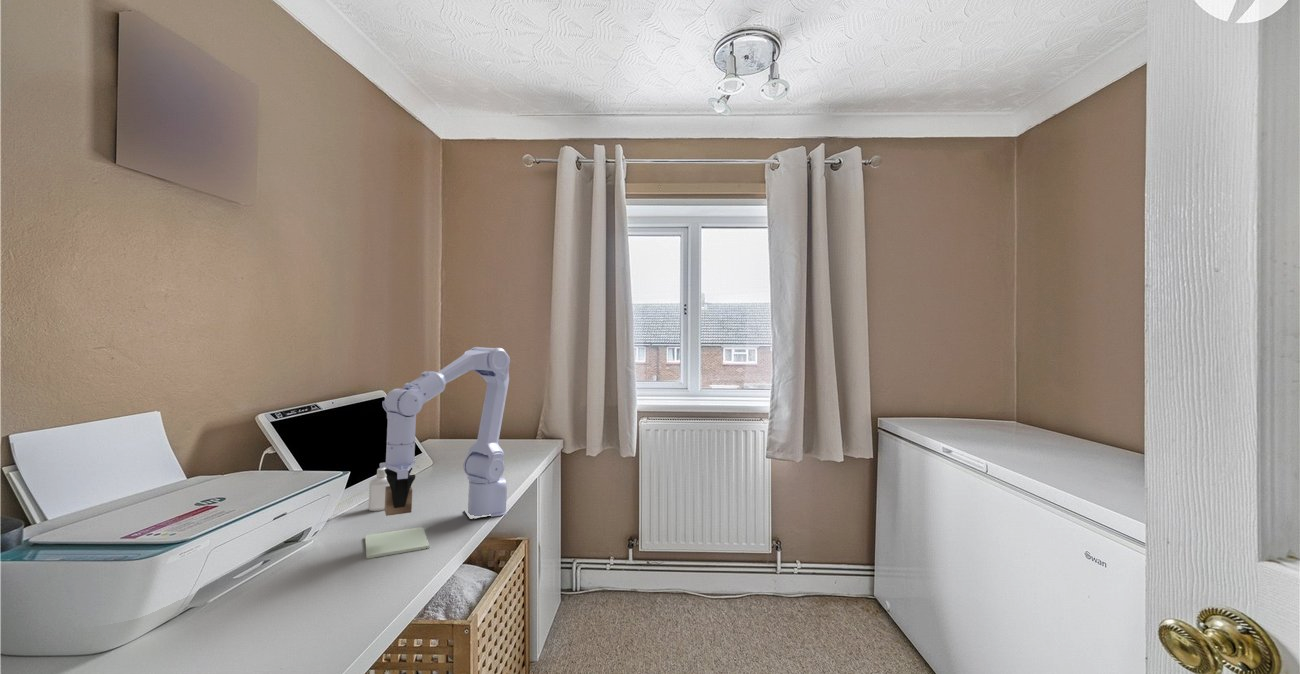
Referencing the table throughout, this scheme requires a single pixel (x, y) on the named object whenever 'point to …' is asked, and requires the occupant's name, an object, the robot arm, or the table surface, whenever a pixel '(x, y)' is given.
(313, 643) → the table surface
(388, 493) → the walnut cube
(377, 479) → the eye dropper bottle
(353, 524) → the table surface
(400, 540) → the sage board
